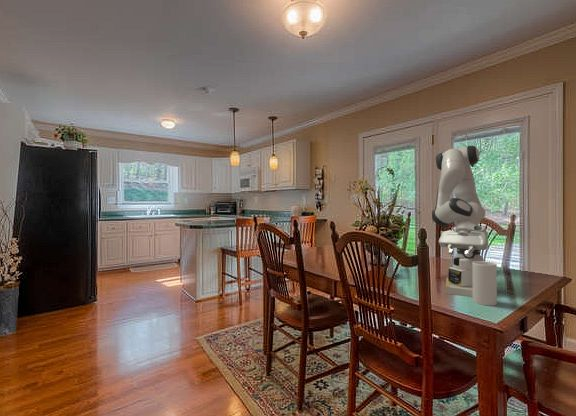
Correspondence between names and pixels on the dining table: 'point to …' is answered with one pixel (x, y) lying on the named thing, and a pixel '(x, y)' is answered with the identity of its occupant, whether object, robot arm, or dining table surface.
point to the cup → (485, 283)
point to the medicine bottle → (460, 273)
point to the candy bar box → (390, 267)
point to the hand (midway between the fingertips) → (458, 254)
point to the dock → (458, 289)
